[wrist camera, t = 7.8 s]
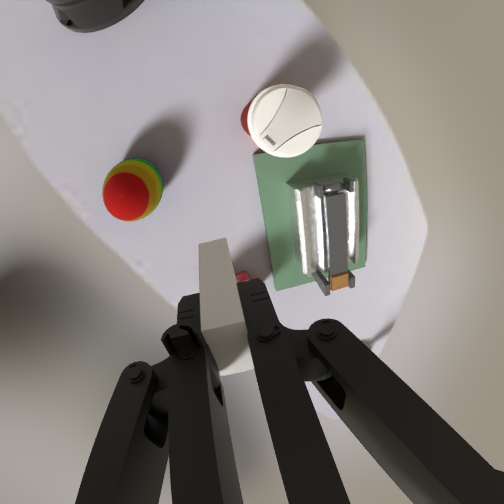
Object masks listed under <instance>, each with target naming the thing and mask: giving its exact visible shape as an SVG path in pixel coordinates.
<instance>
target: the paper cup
mask: <svg viewBox="0 0 504 504" xmlns="http://www.w3.org/2000/svg"><path fill="white" fill-rule="evenodd" d="M241 124H242V127H243V128H244V130H245V131H246V132H247V133H248V134H249V135H250V136H251V137H252V139H253V140H254V142H255V143H256V144H257V145H258V146H259V147H260V148H261V149H262V150H264V151H265V152H267V153H269V154H271V155H273V156H277V157H285V158H287V157H294V156H298V155H300V154H303V153H304V152H306V151H307V150H309V149H310V148H311V147H312V146H313V145H314V143H315V142H316V141H317V139H318V138H319V135H320V133H321V130H322V116H321V111H320V108H319V105H318V103H317V100H316V99H315V97H314V96H313V95H312V94H311V93H310V92H309V91H307V90H306V89H304V88H301V87H298V86H294V85H290V84H278V85H273V86H270V87H268V88H266V89H264V90H263V91H261V92H260V93H259V94H258V95H257V96H256V97H255V98H254V100H253V101H252V102H250V103H249V104H248V105H247V106H246V107H245V108H244V110H243V112H242V114H241Z"/></svg>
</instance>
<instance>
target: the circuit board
mask: <svg viewBox="0 0 504 504" xmlns="http://www.w3.org/2000/svg"><path fill="white" fill-rule="evenodd" d="M253 159H254V164H255V170H256V176H257V182H258V187H259V193H260V199H261V205H262V211H263V217H264V223H265V229H266V235H267V241H268V248H269V254H270V260H271V266H272V273H273V279H274V286H275V289H276V291H279V290H283V289H287V288H291V287H294V286H298V285H302V284H306V283H309V282H313V281H315V279H314V277H313V276H312V274H311V276H312V277H307V275H306V274H304V275H303V274H302V273H301V271H300V269H299V268H298V266H297V264H296V263H295V255H294V245H293V237H292V228H291V219H290V211H289V203H288V196H287V188H286V183H287V182H293V181H298V180H304V179H309V178H315V177H321V176H327V175H333V174H339V173H347V174H349V175H351V176H354V177H356V178H358V184H359V258H358V264H354V263H353V262H349V263H348V269H349V270H350V271H352V270H355V269H359V268H362V267H365V258H366V232H367V185H366V160H365V144H364V140H362V139H357V140H346V141H337V142H328V143H320V144H314V145H313V146H312V147H311V148H310V149H309V150H307V151H306V152H304V153H303V154H300V155H298V156H294V157H287V158H285V157H277V156H273V155H271V154H269V153H267V152H262V153H256V154H253ZM320 271H321V272H322V274H323V275H324V277H325V278H327V277H328V272H326V273H324V272H323V270H320Z"/></svg>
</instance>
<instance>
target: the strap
mask: <svg viewBox="0 0 504 504" xmlns="http://www.w3.org/2000/svg"><path fill="white" fill-rule="evenodd" d="M322 186H323V194H325V193H331V192H336V191H342V190H346V184H345V182H344V181H342V182H336V183H330V184H324V185H322ZM323 199H324V210H325V223H326V237H327V255H328V279H329V284H330V290H332V291H334V290H337V289H341V288H344V287H347V286H348V243H347V213H346V195H345V193H344V192H340V193H334V194H329V195H324V198H323Z"/></svg>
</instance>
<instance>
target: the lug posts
mask: <svg viewBox="0 0 504 504" xmlns="http://www.w3.org/2000/svg"><path fill="white" fill-rule="evenodd" d="M311 274H312V276H313V277H314V279H315V281H316V282H317V284H318V285H319V287H320V288H321V290H322V291H323V293H324V295H325V296H327V295H330V284H329V282H328V281H327V279H326V278H325V277H324V275H323V274H322V272H321V271H320V270H319V271H316V272H312V273H311ZM348 286H349V287H350V288H353V287H355V276H354V275H353V274H352V273H351V272H350V270H349V269H348Z"/></svg>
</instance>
